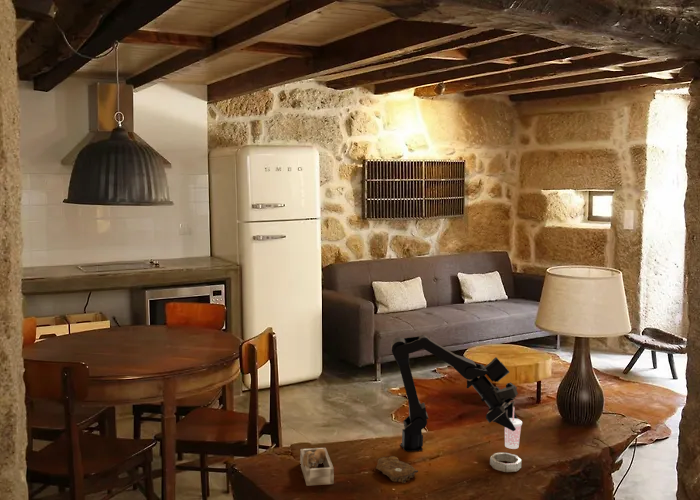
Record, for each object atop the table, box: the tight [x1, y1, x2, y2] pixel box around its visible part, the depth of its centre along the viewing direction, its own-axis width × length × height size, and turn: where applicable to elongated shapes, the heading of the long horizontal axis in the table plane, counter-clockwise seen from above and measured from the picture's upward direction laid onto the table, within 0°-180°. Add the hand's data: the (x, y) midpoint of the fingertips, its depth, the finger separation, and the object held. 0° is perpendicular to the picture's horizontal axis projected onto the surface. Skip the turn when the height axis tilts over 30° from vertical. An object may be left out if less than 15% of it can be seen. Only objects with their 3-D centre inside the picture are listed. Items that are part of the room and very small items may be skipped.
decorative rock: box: [375, 455, 419, 484], centre depth 228 cm, size 11×4×15 cm
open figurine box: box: [299, 447, 335, 487], centre depth 226 cm, size 8×16×5 cm, turn 11°
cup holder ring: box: [489, 452, 523, 473], centre depth 235 cm, size 10×10×2 cm
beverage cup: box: [504, 406, 523, 450], centre depth 242 cm, size 6×6×14 cm
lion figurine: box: [303, 449, 326, 469], centre depth 226 cm, size 15×5×9 cm, turn 161°
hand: (516, 427), depth 242 cm, fingers closed on beverage cup, 6 cm apart
